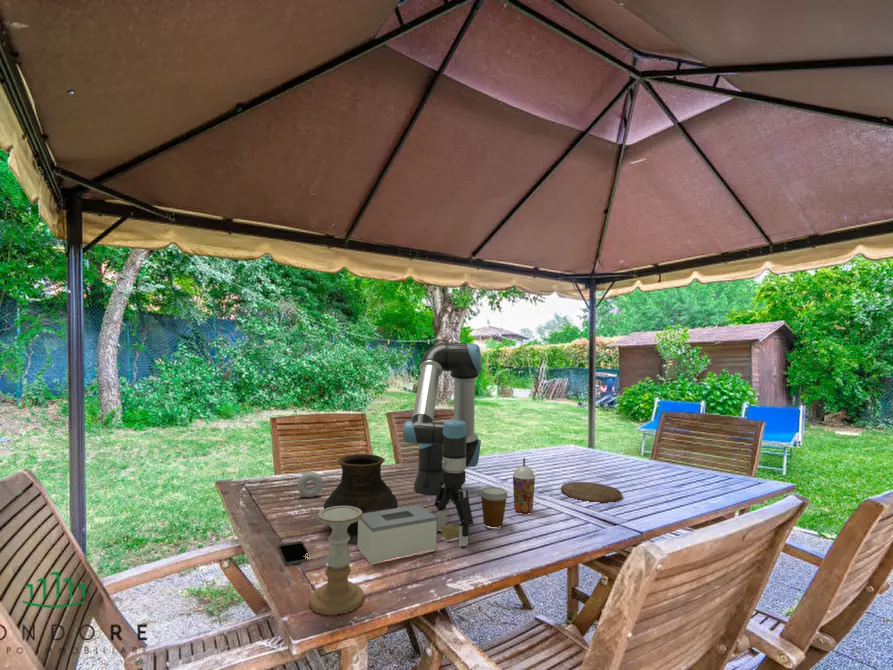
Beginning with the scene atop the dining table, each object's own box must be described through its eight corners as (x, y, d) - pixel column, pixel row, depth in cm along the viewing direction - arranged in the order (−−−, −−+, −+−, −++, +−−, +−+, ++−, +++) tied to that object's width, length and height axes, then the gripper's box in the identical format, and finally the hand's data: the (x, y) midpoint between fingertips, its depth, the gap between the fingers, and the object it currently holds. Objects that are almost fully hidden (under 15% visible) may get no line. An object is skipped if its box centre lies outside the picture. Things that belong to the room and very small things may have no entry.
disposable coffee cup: (489, 533, 145) (489, 496, 146) (474, 523, 154) (474, 488, 154) (512, 528, 150) (513, 492, 150) (496, 519, 158) (497, 485, 159)
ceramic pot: (308, 528, 146) (311, 459, 147) (364, 510, 164) (366, 448, 165) (355, 550, 130) (358, 472, 132) (411, 527, 149) (413, 459, 150)
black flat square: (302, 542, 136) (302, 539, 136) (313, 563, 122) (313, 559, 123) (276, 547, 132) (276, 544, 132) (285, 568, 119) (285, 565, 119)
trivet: (615, 508, 174) (615, 503, 175) (553, 496, 188) (553, 492, 188) (626, 492, 196) (626, 488, 196) (570, 483, 209) (570, 478, 209)
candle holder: (297, 608, 100) (301, 517, 101) (330, 583, 111) (333, 501, 112) (344, 621, 95) (347, 526, 96) (373, 593, 107) (376, 508, 108)
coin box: (418, 536, 141) (419, 504, 142) (435, 551, 131) (436, 517, 131) (357, 548, 131) (358, 514, 132) (371, 565, 121) (372, 528, 121)
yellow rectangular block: (457, 535, 143) (458, 523, 143) (462, 539, 141) (462, 526, 141) (441, 539, 140) (441, 526, 140) (446, 542, 138) (446, 529, 138)
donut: (322, 494, 181) (323, 470, 181) (323, 497, 177) (324, 472, 178) (296, 496, 177) (297, 471, 178) (296, 499, 174) (297, 473, 175)
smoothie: (507, 512, 166) (508, 458, 167) (520, 507, 172) (520, 455, 173) (526, 518, 160) (527, 462, 161) (538, 512, 166) (539, 458, 167)
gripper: (425, 462, 150) (423, 526, 149) (464, 481, 129) (462, 556, 128) (445, 460, 154) (443, 523, 153) (485, 478, 132) (484, 551, 131)
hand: (452, 538), depth 140 cm, fingers open, 13 cm apart
